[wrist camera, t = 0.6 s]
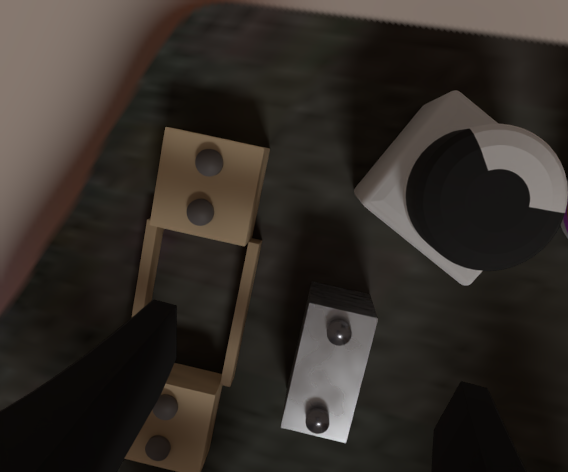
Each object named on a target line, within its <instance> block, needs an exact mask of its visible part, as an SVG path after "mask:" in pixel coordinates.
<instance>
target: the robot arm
mask: <svg viewBox="0 0 568 472" xmlns="http://www.w3.org/2000/svg"><path fill="white" fill-rule="evenodd" d="M176 340H177V306H176V305H173V304H169V303H165V302H161V301H158V300H153V301H151V302H149V303H148V304H147V305H146V306H145V307H144V308H142V309H141V310H140V311H139V312H138V313H137V314H135V315H134V316H133V317H132V318H131V319H129V320H128V321H127V322H126V323H125V324H123V325H122V326H121V327H120V328H119V329H117V330H116V331H115V332H114V333H112V334H111V335H110V336H109V337H108V338H106V339H105V340H104V341H102V342H101V343H100V344H98V345H97V346H96V347H95V348H93V349H92V350H91V351H89V352H88V353H87V354H86V355H84V356H83V357H82V358H80V359H79V360H78V361H76V362H75V363H73V364H72V365H70V366H69V367H68V368H66V369H65V370H63V371H62V372H61V373H59V374H58V375H56V376H55V377H53V378H52V379H51V380H49V381H48V382H46V383H45V384H43V385H42V386H40V387H39V388H37V389H36V390H34V391H32V392H31V393H29V394H28V395H26V396H24V397H23V398H21V399H20V400H18V401H16V402H15V403H13V404H11V405H10V406H8V407H6V408H5V409H3V410H1V411H0V472H117V470H118V469H119V467H120V465H121V464H122V462H123V460H124V458H125V457H126V455H127V453H128V451H129V450H130V448H131V446H132V444H133V443H134V441H135V439H136V437H137V436H138V434H139V432H140V430H141V429H142V427H143V425H144V424H145V422H146V420H147V418H148V416H149V415H150V413H151V411H152V409H153V408H154V406H155V404H156V402H157V401H158V399H159V397H160V395H161V393H162V391H163V389H164V386H165V384H166V382H167V380H168V377H169V375H170V372H171V370H172V368H173V365H174V363H175V360H176ZM432 472H527V471H526V469H525V467H524V465H523V463H522V461H521V459H520V457H519V455H518V453H517V451H516V449H515V447H514V445H513V443H512V441H511V439H510V436H509V434H508V432H507V430H506V428H505V426H504V423H503V421H502V419H501V417H500V415H499V412H498V410H497V408H496V406H495V404H494V401H493V399H492V397H491V395H490V392H489V391H488V389H487V388H485V387H481V386H477V385H473V384H470V383H466V382H462V381H461V382H460V384H459V386H458V388H457V389H456V391H455V393H454V395H453V397H452V398H451V400H450V402H449V404H448V406H447V407H446V409H445V411H444V413H443V414H442V416H441V418H440V420H439V422H438V423H437V425H436V427H435V429H434V437H433V452H432Z"/></svg>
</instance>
